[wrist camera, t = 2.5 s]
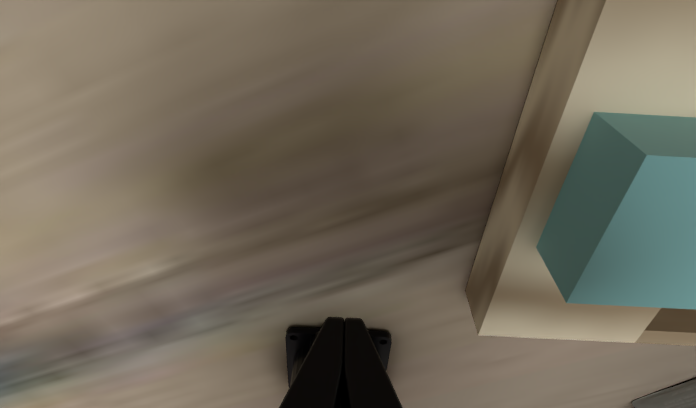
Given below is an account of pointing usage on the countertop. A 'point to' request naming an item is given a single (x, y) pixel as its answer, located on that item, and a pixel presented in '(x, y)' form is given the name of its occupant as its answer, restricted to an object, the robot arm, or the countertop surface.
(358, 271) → the countertop surface
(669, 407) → the skincare box
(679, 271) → the block
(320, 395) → the robot arm
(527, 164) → the wooden tray
